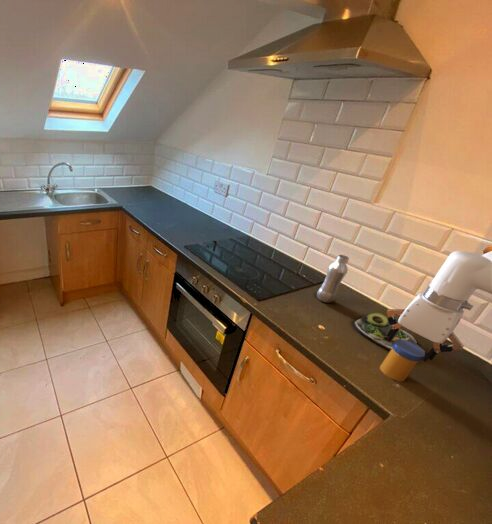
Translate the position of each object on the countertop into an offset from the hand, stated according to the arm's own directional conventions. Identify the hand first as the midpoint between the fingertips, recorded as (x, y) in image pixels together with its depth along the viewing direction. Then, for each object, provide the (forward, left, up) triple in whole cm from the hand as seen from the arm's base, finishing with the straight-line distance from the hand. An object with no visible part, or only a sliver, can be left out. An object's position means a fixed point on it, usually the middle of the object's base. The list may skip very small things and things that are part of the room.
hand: (407, 349), depth 84 cm
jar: (0, 0, -10) cm, 10 cm away
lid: (0, 0, 0) cm, 0 cm away
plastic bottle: (+16, -35, -10) cm, 40 cm away
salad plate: (-2, -22, -10) cm, 24 cm away
